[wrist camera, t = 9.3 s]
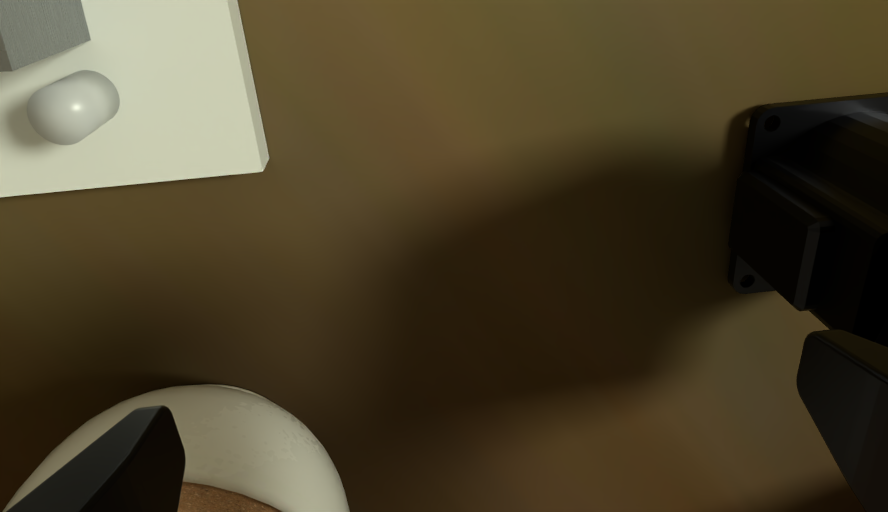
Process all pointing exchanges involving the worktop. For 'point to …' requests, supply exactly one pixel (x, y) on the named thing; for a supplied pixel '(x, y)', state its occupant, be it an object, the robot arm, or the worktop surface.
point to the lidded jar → (225, 452)
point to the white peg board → (134, 102)
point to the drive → (39, 30)
